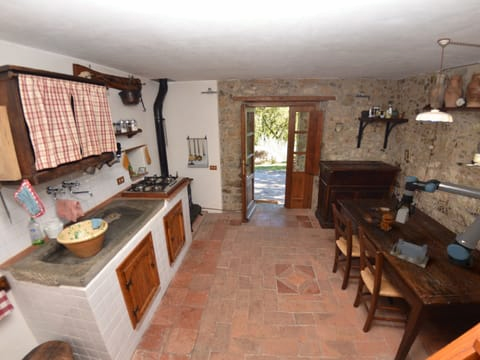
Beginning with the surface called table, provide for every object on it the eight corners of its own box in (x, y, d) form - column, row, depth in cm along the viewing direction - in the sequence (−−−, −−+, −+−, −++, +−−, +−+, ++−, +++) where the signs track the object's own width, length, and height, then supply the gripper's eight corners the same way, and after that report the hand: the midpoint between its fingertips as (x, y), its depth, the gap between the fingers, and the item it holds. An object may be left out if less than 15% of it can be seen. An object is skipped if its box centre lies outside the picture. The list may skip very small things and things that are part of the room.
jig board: (428, 259, 175) (430, 252, 173) (424, 268, 165) (426, 261, 163) (395, 246, 191) (397, 240, 190) (389, 253, 181) (391, 247, 180)
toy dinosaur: (385, 232, 212) (389, 216, 207) (376, 227, 222) (379, 211, 217) (394, 231, 215) (398, 215, 210) (384, 226, 225) (388, 210, 220)
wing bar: (408, 218, 192) (411, 208, 189) (403, 223, 183) (406, 212, 180) (400, 216, 196) (402, 206, 193) (395, 221, 187) (398, 210, 184)
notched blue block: (423, 257, 175) (427, 243, 171) (423, 262, 170) (427, 247, 166) (396, 248, 186) (400, 235, 182) (395, 252, 181) (399, 239, 177)
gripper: (423, 196, 178) (416, 221, 185) (396, 190, 191) (391, 213, 198) (421, 198, 173) (414, 224, 180) (394, 192, 187) (388, 216, 194)
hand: (402, 218), depth 189 cm, fingers closed on wing bar, 6 cm apart
